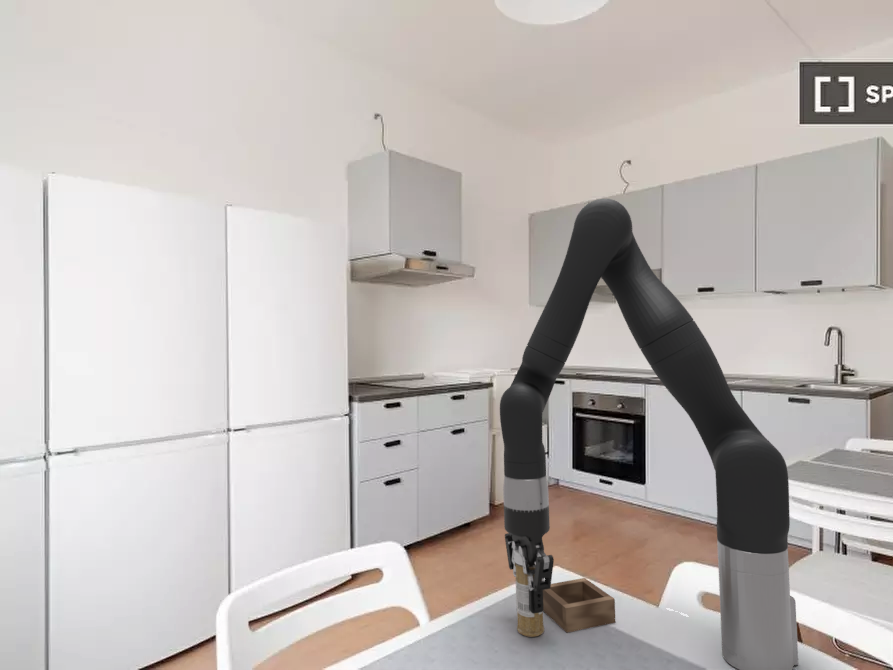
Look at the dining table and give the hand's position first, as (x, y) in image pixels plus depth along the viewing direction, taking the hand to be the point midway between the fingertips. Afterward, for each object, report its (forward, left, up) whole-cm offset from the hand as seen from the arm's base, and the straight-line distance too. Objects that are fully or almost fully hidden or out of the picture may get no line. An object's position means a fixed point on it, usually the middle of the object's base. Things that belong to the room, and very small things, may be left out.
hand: (529, 604), depth 93 cm
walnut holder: (-10, -2, -4) cm, 11 cm away
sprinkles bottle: (0, 0, -4) cm, 4 cm away
